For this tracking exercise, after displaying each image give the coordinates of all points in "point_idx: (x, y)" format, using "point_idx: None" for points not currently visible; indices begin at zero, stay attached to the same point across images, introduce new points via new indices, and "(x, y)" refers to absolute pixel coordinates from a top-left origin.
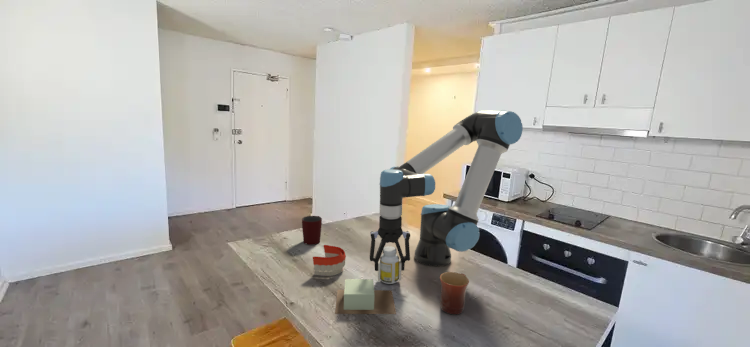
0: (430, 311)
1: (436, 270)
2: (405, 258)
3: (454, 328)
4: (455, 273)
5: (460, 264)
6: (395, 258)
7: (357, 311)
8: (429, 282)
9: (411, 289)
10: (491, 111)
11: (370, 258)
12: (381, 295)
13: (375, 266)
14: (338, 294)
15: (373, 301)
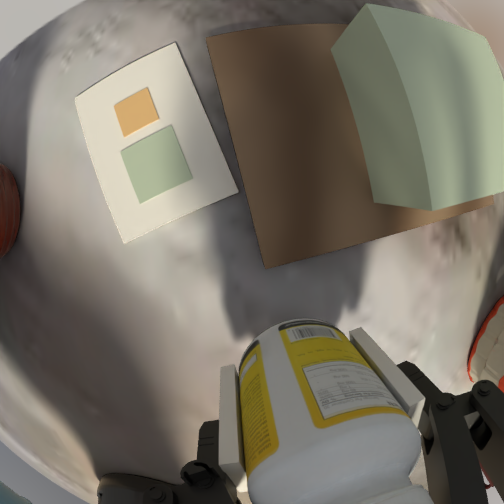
0: (54, 156)
1: (117, 458)
2: (186, 501)
3: (5, 94)
4: None
5: (75, 471)
6: (285, 492)
7: None
8: (105, 396)
9: (160, 333)
10: None
11: (495, 390)
12: (321, 191)
13: (423, 379)
14: None
15: (351, 26)
